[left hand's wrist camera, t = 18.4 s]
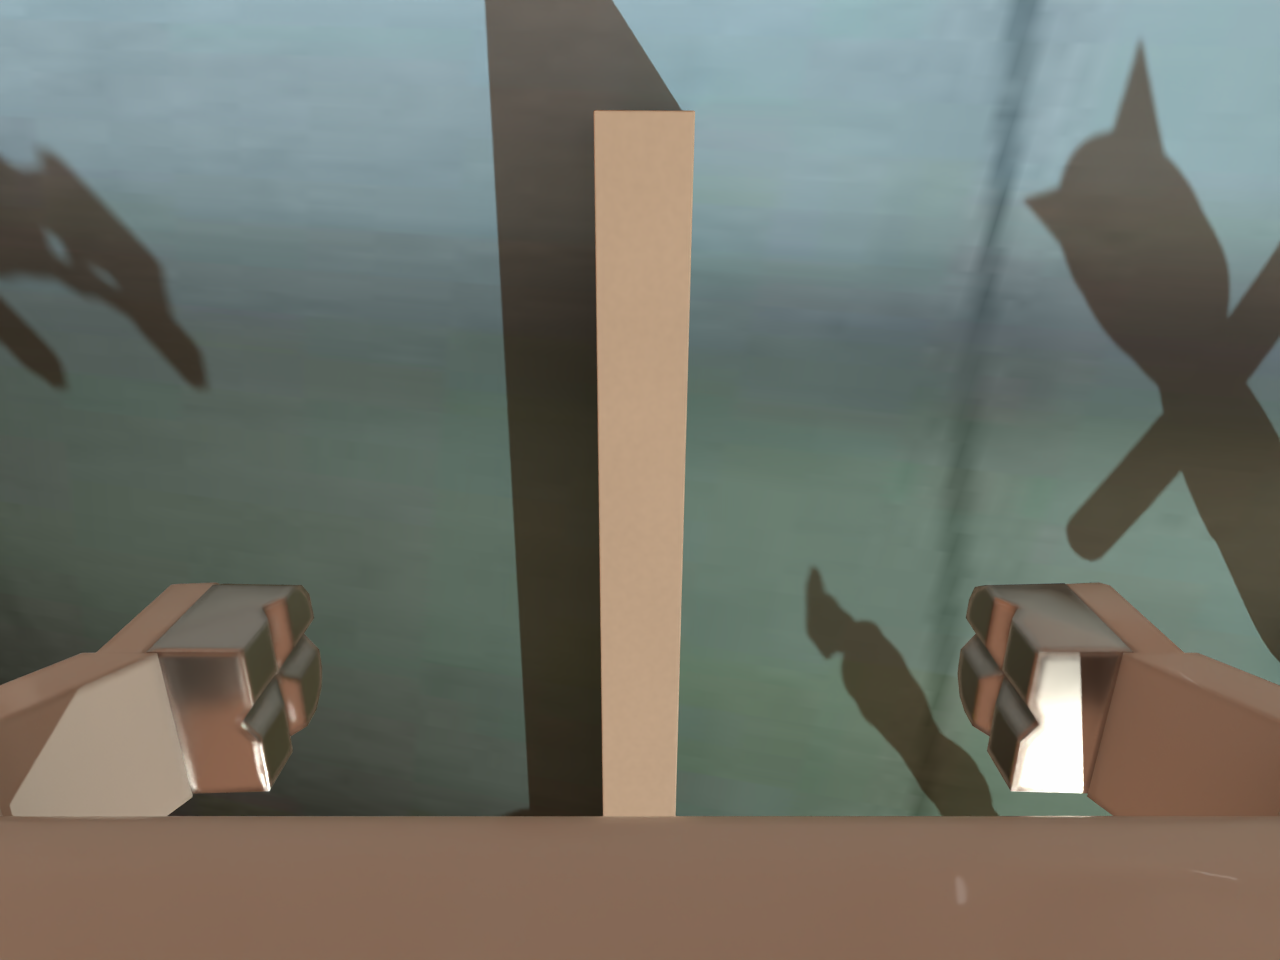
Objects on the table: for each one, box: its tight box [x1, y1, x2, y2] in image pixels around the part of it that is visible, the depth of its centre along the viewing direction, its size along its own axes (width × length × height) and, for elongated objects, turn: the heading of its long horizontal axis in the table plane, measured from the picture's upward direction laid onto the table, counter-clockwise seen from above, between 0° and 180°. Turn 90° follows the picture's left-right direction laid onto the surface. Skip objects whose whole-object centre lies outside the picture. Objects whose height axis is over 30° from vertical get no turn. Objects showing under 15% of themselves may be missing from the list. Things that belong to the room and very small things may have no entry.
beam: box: [594, 110, 695, 816], centre depth 54 cm, size 66×5×7 cm, turn 0°
